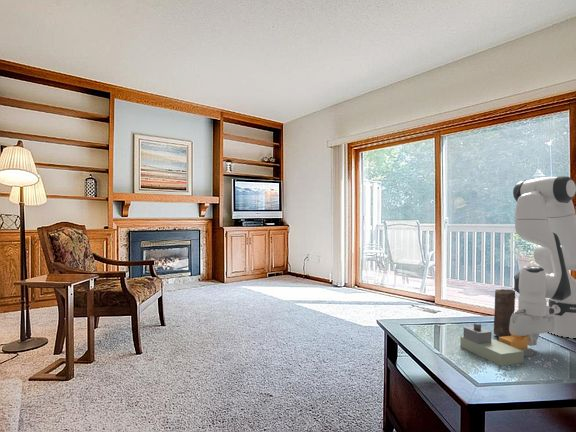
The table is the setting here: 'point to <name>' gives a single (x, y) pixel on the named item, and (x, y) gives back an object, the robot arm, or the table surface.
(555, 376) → the table surface
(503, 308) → the candle
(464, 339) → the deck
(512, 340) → the orange lidded box
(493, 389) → the table surface
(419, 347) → the table surface
